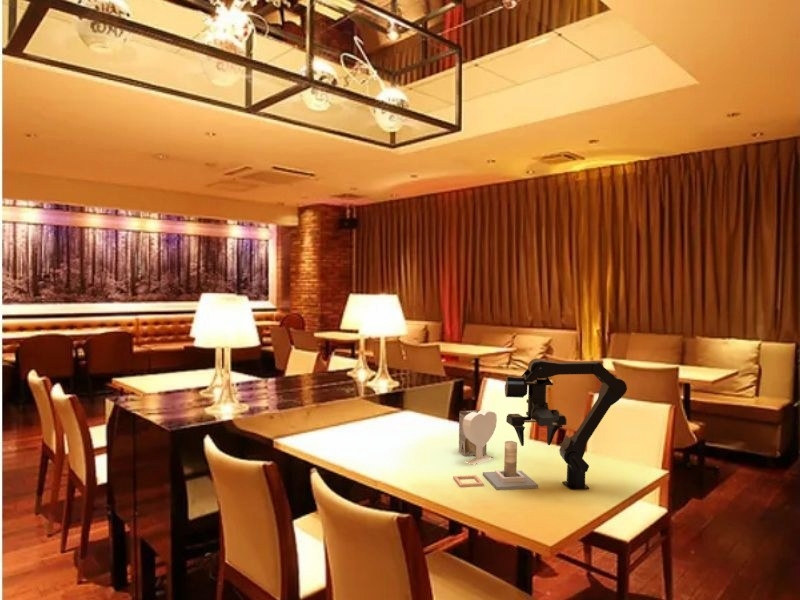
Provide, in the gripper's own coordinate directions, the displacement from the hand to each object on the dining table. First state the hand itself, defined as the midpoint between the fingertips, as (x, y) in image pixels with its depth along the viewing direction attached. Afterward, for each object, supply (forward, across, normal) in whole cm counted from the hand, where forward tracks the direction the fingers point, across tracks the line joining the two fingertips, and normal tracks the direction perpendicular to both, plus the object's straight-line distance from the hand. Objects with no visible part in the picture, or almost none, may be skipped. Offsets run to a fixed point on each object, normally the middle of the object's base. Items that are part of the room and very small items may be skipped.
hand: (535, 445), depth 188 cm
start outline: (+13, -21, +5) cm, 25 cm away
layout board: (+13, -7, +4) cm, 15 cm away
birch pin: (+12, -7, +4) cm, 14 cm away
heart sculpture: (+13, -10, +27) cm, 32 cm away
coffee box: (+13, -10, +35) cm, 39 cm away
